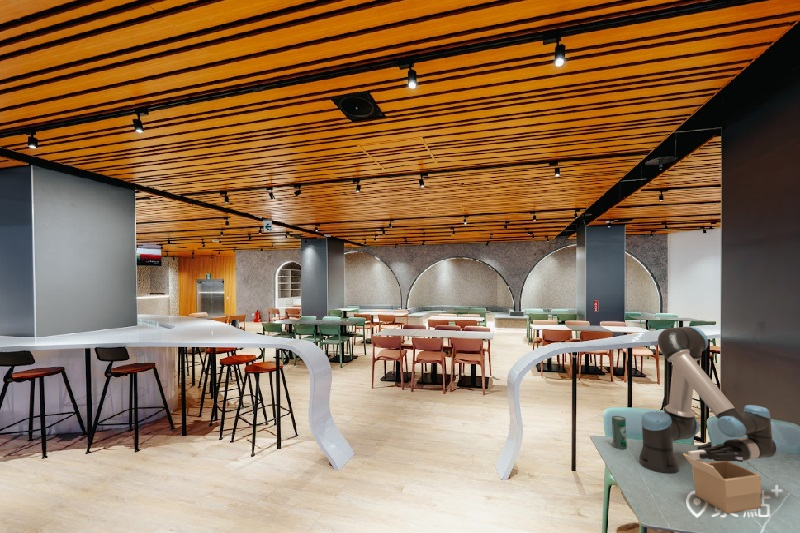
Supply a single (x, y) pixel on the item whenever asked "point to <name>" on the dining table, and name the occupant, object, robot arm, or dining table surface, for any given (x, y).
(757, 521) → the dining table surface
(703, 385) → the robot arm
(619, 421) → the can
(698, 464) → the flap
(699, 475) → the carton
